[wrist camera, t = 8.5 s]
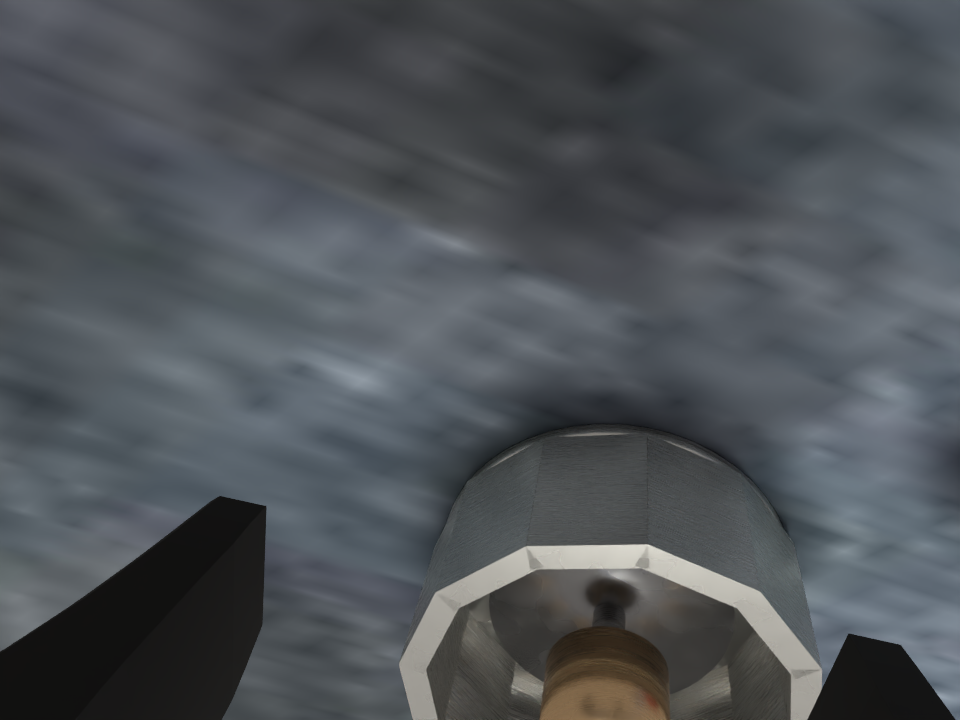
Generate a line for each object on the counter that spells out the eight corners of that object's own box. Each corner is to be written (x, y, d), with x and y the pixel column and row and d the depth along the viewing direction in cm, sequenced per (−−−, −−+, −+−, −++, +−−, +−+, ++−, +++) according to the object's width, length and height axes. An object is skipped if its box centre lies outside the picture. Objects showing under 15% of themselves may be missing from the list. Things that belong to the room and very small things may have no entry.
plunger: (780, 563, 22) (810, 721, 18) (663, 714, 25) (666, 878, 21) (548, 465, 21) (527, 603, 17) (458, 630, 24) (423, 780, 20)
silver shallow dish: (862, 514, 22) (910, 654, 18) (651, 776, 27) (652, 927, 24) (520, 367, 22) (492, 479, 18) (375, 664, 27) (330, 798, 23)
